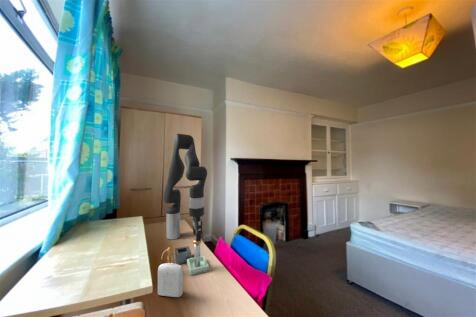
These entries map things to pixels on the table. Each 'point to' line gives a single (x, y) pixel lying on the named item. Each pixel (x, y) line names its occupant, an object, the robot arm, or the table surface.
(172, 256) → the figurine
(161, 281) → the photo printer
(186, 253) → the socket block
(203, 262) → the tray
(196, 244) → the pin
